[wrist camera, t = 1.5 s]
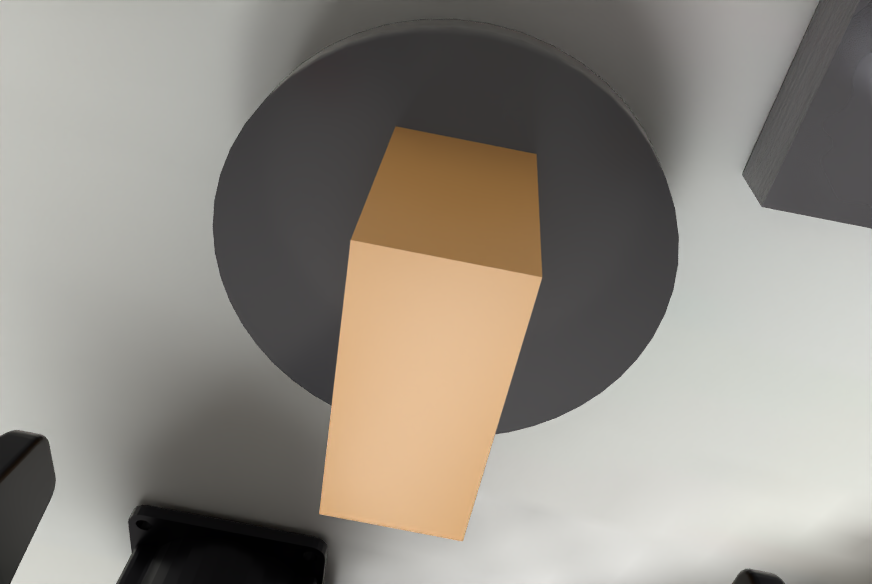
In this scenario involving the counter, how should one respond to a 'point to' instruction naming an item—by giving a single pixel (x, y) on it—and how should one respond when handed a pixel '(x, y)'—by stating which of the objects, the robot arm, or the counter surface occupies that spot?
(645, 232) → the disc with orange block
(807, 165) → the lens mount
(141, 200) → the counter surface
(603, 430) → the counter surface
